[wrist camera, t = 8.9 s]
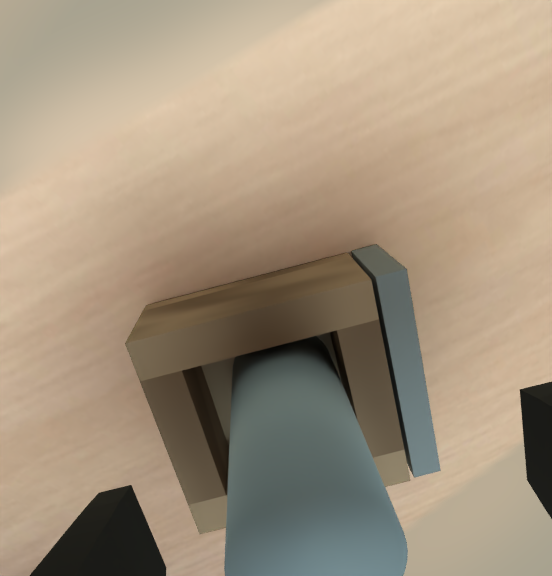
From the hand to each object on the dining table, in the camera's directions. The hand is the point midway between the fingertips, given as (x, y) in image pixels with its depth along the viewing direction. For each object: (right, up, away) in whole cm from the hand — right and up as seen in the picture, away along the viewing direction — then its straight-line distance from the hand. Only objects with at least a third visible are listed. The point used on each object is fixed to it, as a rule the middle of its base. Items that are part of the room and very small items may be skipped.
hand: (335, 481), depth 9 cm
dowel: (-1, 0, +10) cm, 10 cm away
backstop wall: (+3, +1, +11) cm, 12 cm away
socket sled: (-1, 0, +11) cm, 11 cm away
